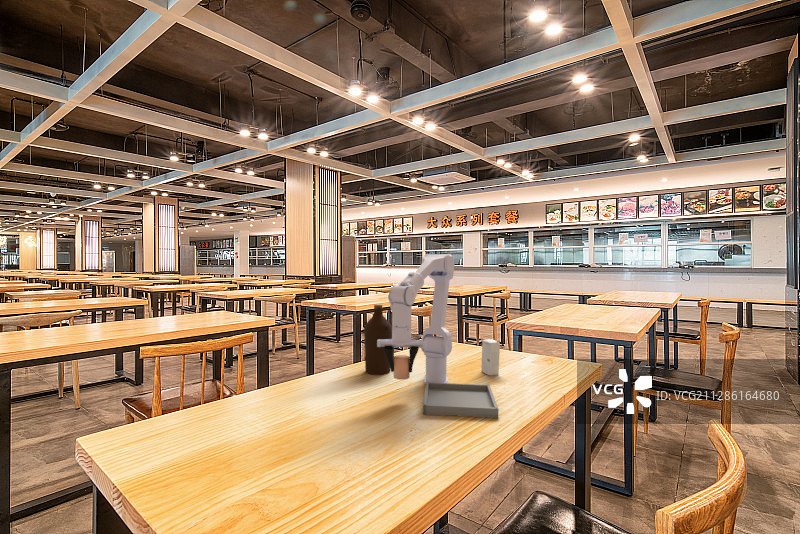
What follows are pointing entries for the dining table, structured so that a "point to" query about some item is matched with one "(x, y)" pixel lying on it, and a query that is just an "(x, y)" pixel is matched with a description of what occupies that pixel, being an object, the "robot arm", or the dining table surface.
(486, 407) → the tray
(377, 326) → the olive oil
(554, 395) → the dining table surface
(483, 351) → the skincare box
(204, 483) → the dining table surface
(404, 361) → the pink rounded cylinder
